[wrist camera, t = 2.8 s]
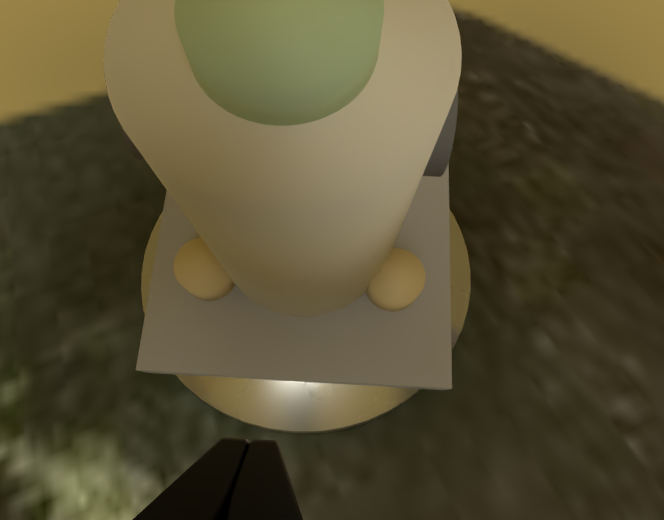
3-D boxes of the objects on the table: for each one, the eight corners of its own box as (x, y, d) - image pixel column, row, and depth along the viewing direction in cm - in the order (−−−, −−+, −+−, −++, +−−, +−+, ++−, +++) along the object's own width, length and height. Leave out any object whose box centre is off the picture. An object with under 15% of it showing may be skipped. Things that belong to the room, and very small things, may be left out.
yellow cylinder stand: (443, 390, 16) (652, 355, 6) (148, 372, 16) (-163, 307, 6) (440, 131, 19) (576, -199, 9) (190, 117, 19) (32, -227, 9)
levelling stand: (478, 445, 17) (496, 438, 15) (110, 423, 17) (86, 413, 15) (455, 154, 23) (466, 124, 21) (182, 138, 23) (170, 108, 21)
